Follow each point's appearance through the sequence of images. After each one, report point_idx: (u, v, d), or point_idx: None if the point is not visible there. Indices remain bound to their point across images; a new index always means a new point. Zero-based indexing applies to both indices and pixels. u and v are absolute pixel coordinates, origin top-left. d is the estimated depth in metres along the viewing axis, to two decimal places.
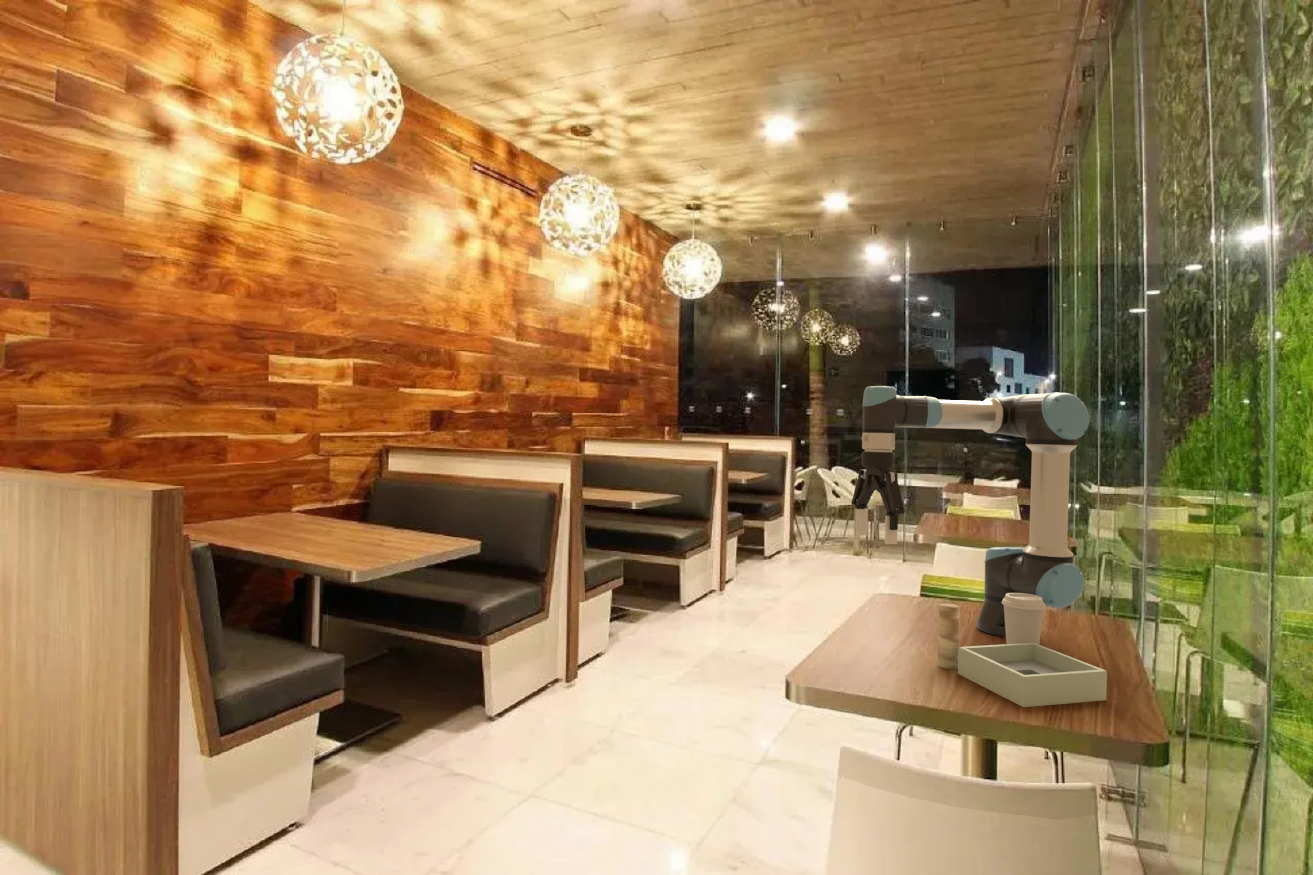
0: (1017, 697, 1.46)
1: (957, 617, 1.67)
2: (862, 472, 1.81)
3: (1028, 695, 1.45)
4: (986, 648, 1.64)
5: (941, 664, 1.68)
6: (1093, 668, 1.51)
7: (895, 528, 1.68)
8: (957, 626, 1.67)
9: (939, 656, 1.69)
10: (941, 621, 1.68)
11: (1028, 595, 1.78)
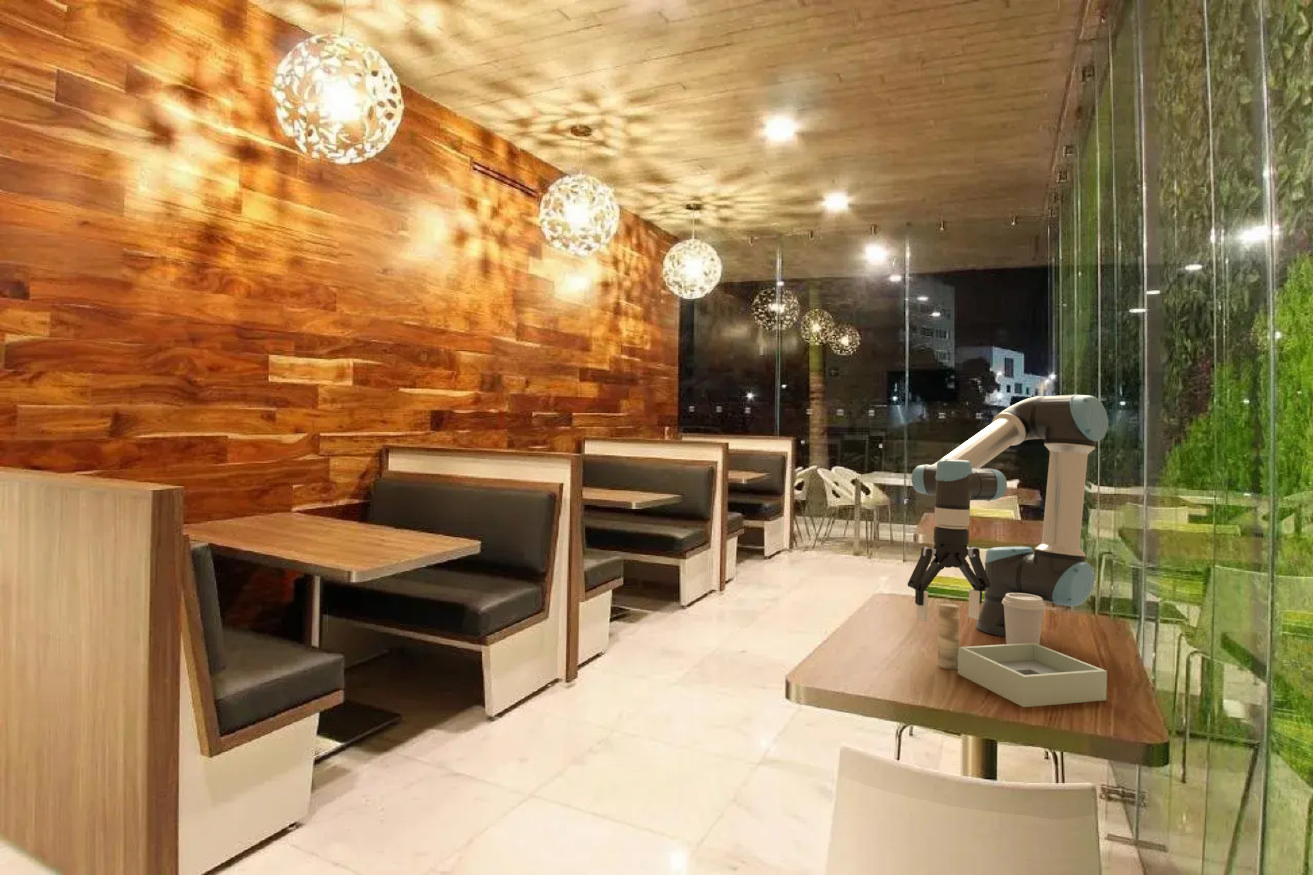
0: (1017, 697, 1.46)
1: (957, 617, 1.67)
2: None
3: (1028, 695, 1.45)
4: (986, 648, 1.64)
5: (941, 664, 1.68)
6: (1093, 668, 1.51)
7: (917, 603, 1.66)
8: (957, 626, 1.67)
9: (939, 656, 1.69)
10: (941, 621, 1.68)
11: (1028, 595, 1.78)
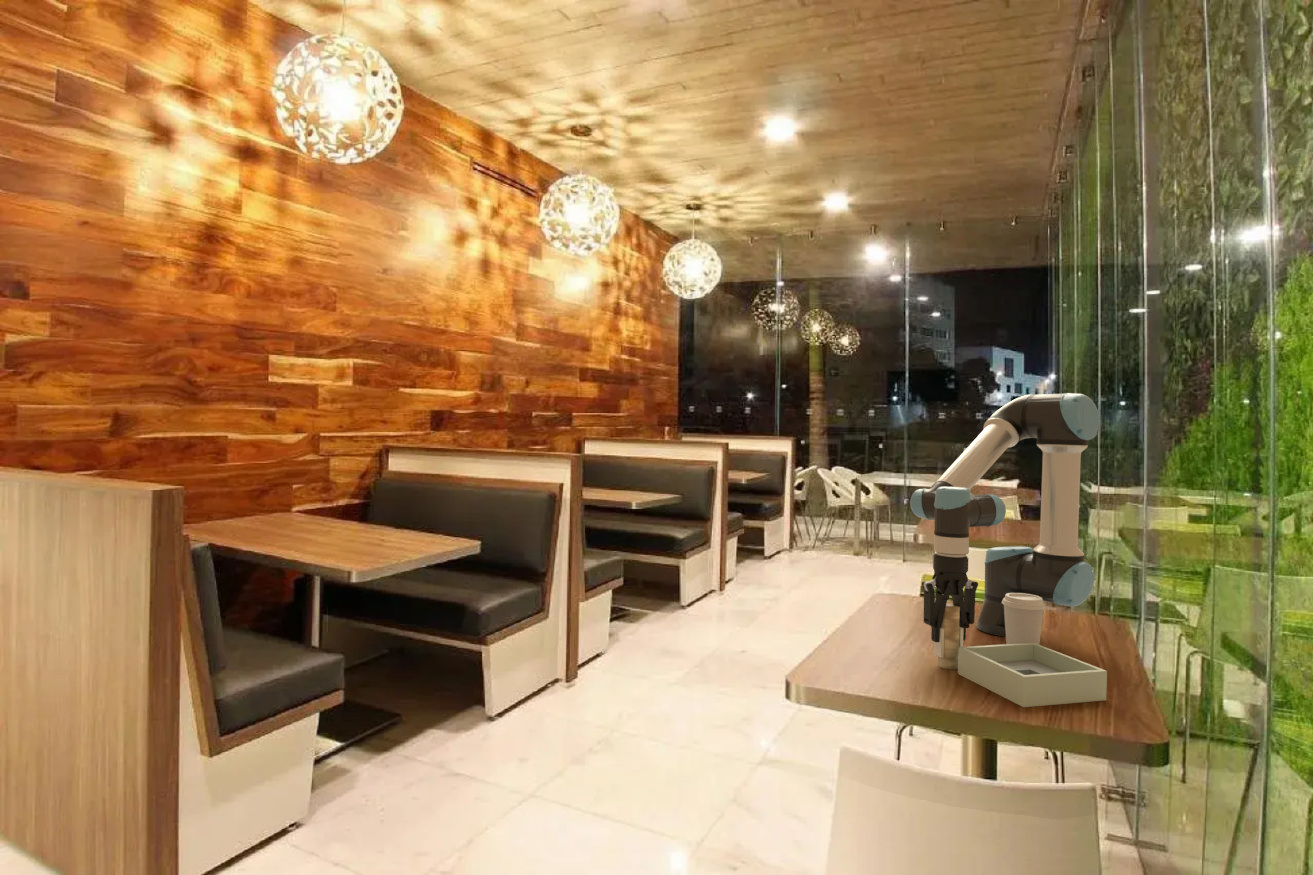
0: (1017, 697, 1.46)
1: (957, 617, 1.67)
2: None
3: (1028, 695, 1.45)
4: (986, 648, 1.64)
5: (941, 664, 1.68)
6: (1093, 668, 1.51)
7: (933, 639, 1.68)
8: (957, 626, 1.67)
9: None
10: None
11: (1028, 595, 1.78)
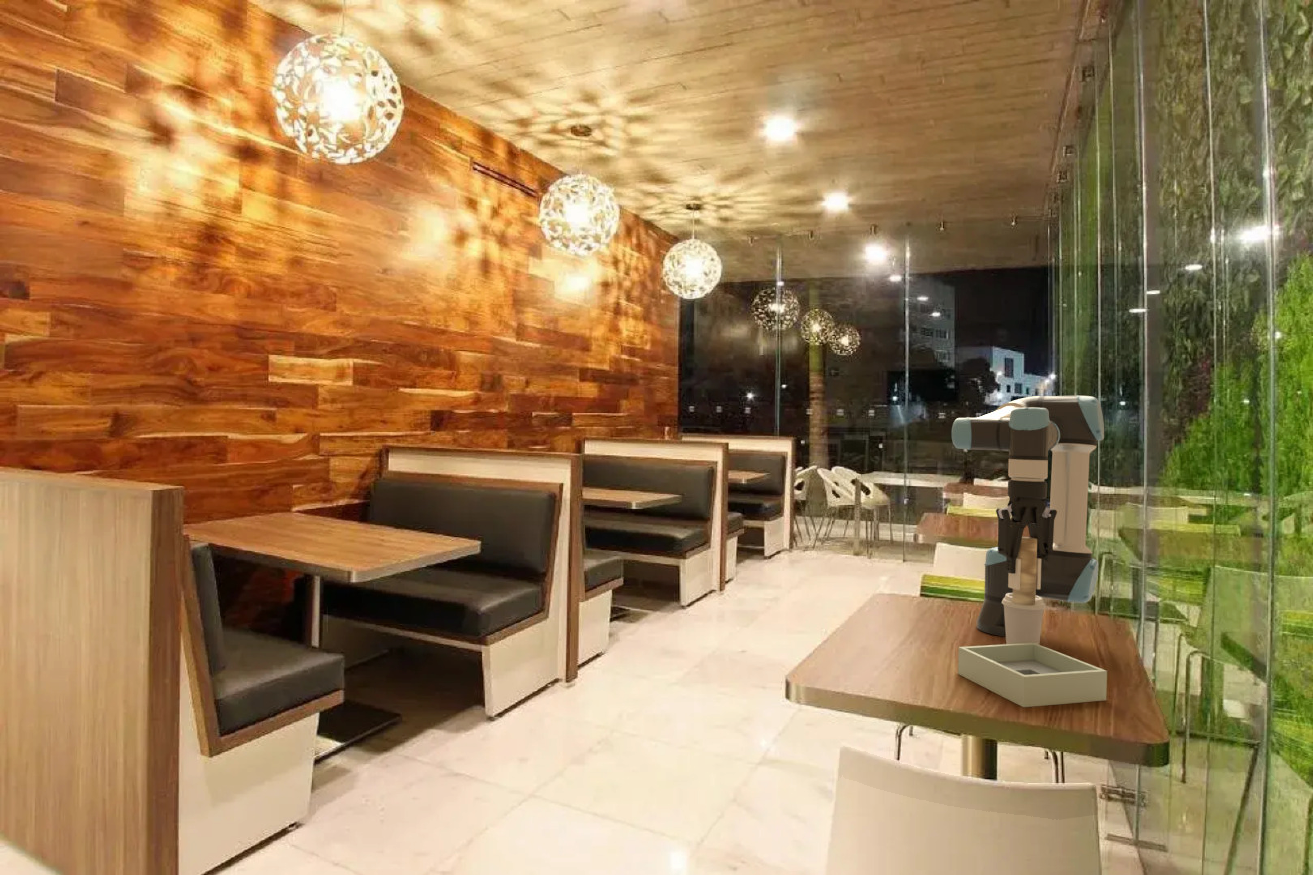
0: (1017, 697, 1.46)
1: (1035, 549, 1.55)
2: None
3: (1028, 695, 1.45)
4: (986, 648, 1.64)
5: (1017, 600, 1.56)
6: (1093, 668, 1.51)
7: (1009, 571, 1.56)
8: (1035, 559, 1.55)
9: (1014, 592, 1.57)
10: None
11: None
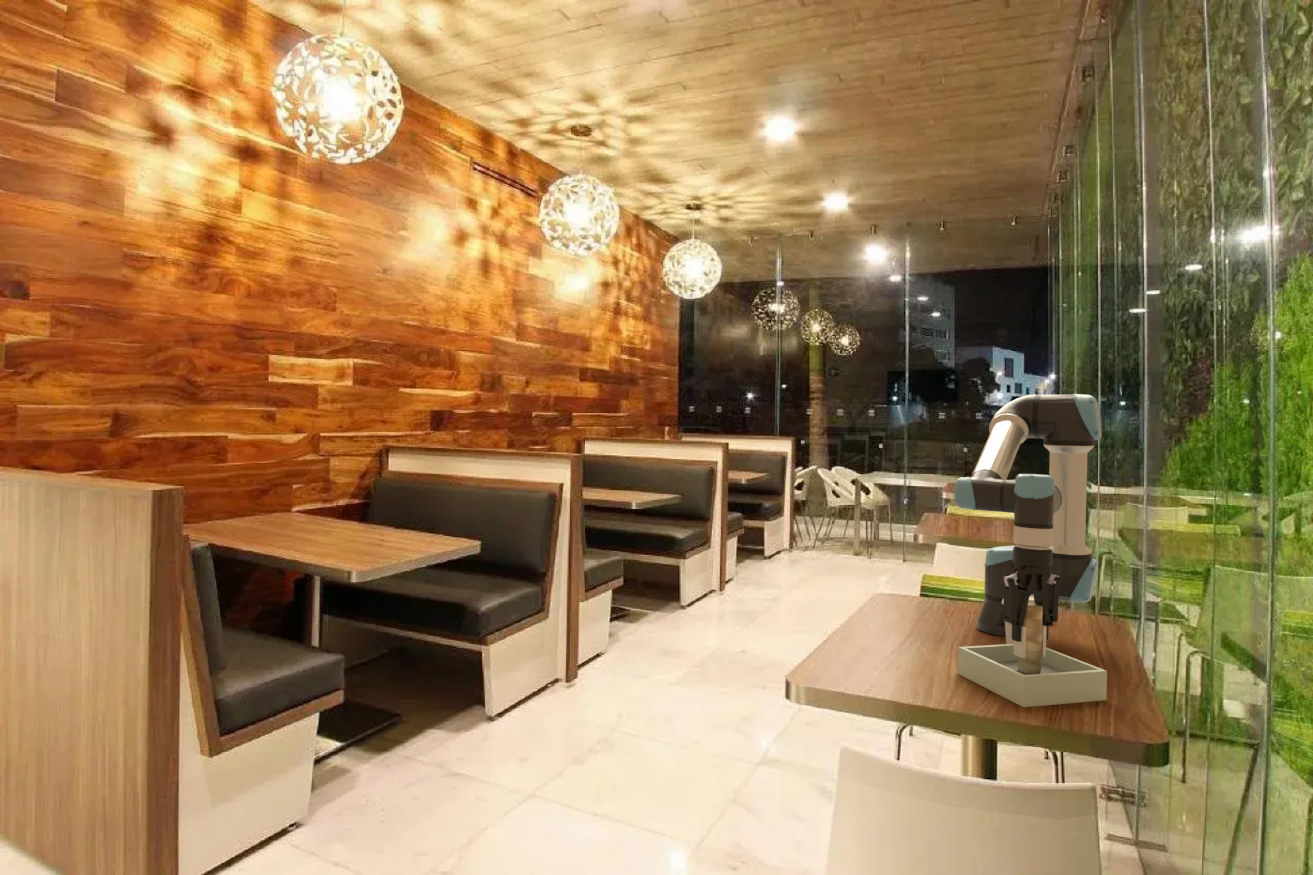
0: (1017, 697, 1.46)
1: (1040, 617, 1.54)
2: None
3: (1028, 695, 1.45)
4: (986, 648, 1.64)
5: (1023, 668, 1.55)
6: (1093, 668, 1.51)
7: (1014, 639, 1.55)
8: (1040, 627, 1.55)
9: (1020, 659, 1.56)
10: None
11: None
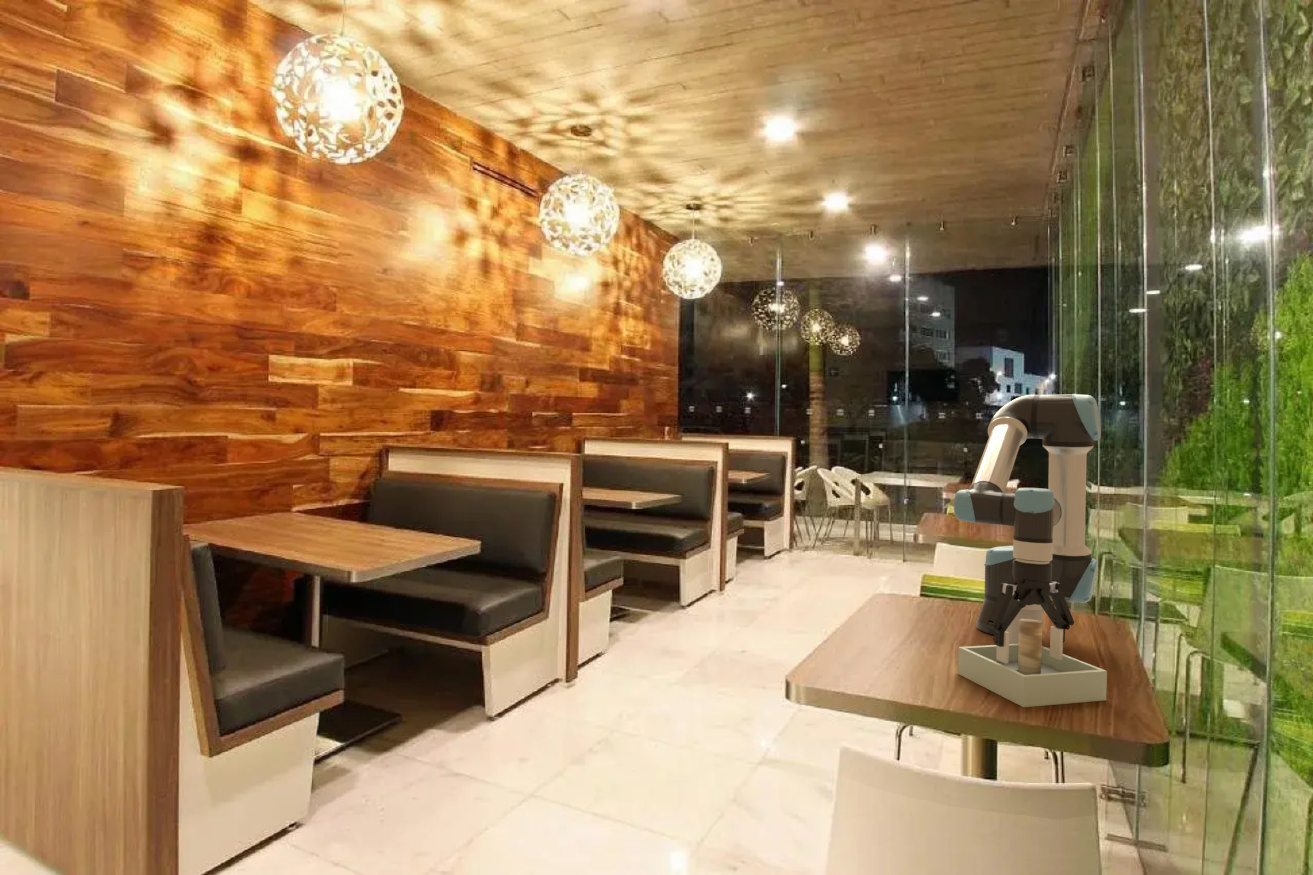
0: (1017, 697, 1.46)
1: (1040, 634, 1.54)
2: None
3: (1028, 695, 1.45)
4: (986, 648, 1.64)
5: None
6: (1093, 668, 1.51)
7: (997, 644, 1.54)
8: (1040, 643, 1.55)
9: None
10: (1022, 637, 1.56)
11: None
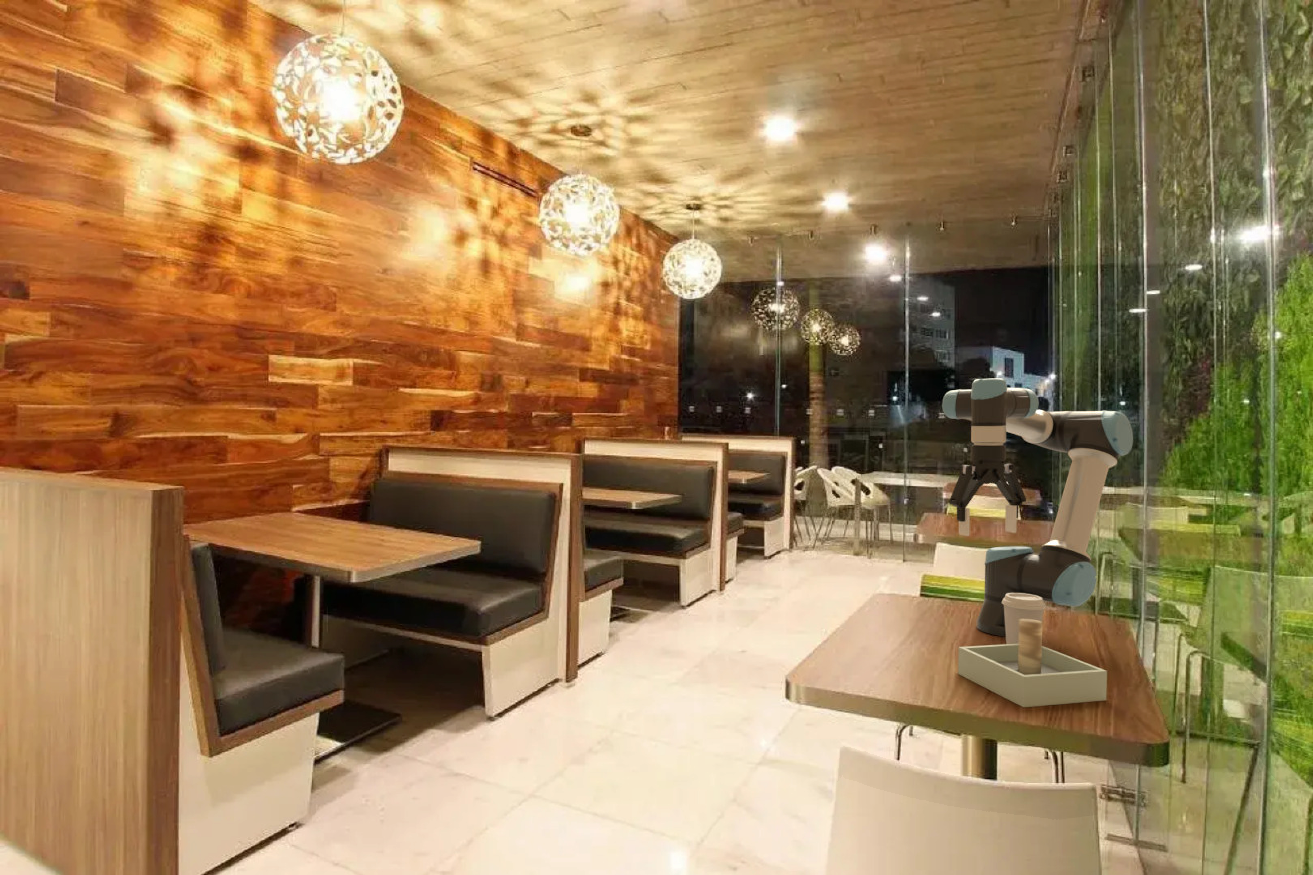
0: (1017, 697, 1.46)
1: (1040, 634, 1.54)
2: None
3: (1028, 695, 1.45)
4: (986, 648, 1.64)
5: None
6: (1093, 668, 1.51)
7: (959, 519, 1.71)
8: (1040, 643, 1.55)
9: None
10: (1022, 637, 1.56)
11: (1028, 595, 1.78)
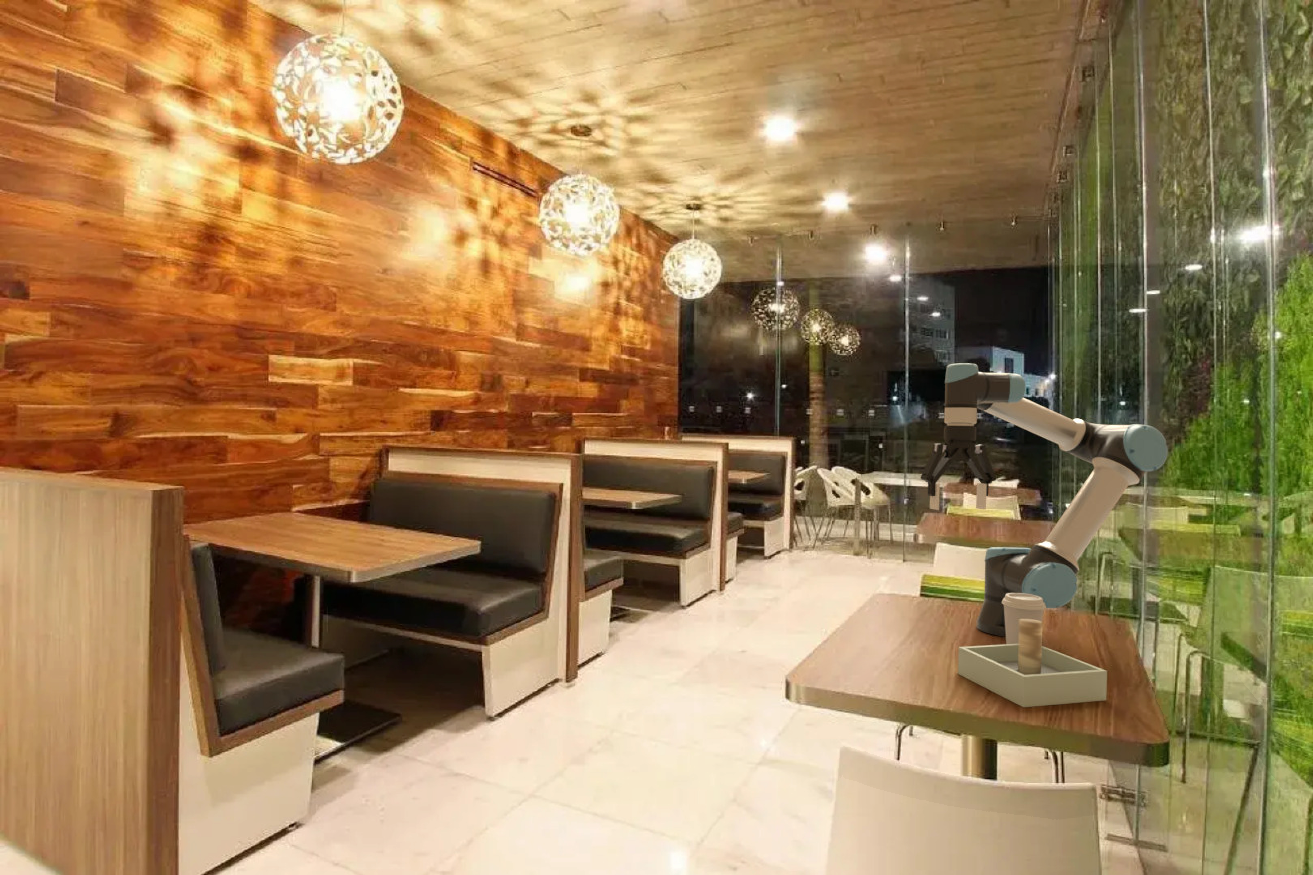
0: (1017, 697, 1.46)
1: (1040, 634, 1.54)
2: None
3: (1028, 695, 1.45)
4: (986, 648, 1.64)
5: None
6: (1093, 668, 1.51)
7: (929, 494, 1.83)
8: (1040, 643, 1.55)
9: None
10: (1022, 637, 1.56)
11: (1028, 595, 1.78)
